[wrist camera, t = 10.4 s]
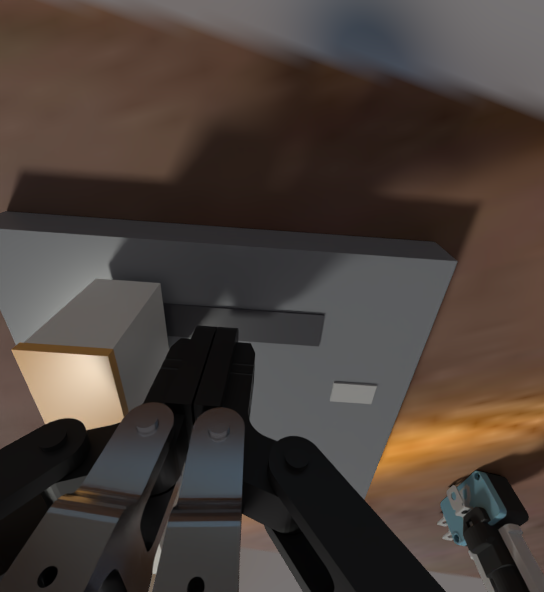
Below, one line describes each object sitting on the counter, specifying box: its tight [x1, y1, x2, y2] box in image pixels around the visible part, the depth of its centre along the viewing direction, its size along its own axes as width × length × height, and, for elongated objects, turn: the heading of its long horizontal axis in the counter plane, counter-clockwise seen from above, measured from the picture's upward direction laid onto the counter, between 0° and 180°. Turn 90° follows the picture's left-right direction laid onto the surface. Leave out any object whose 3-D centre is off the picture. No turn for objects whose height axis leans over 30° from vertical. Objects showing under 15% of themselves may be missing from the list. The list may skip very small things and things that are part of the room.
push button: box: [437, 471, 544, 592], centre depth 18 cm, size 7×5×10 cm
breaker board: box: [0, 211, 458, 574], centre depth 15 cm, size 18×17×6 cm
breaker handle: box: [12, 279, 169, 430], centre depth 11 cm, size 2×4×4 cm, turn 176°
